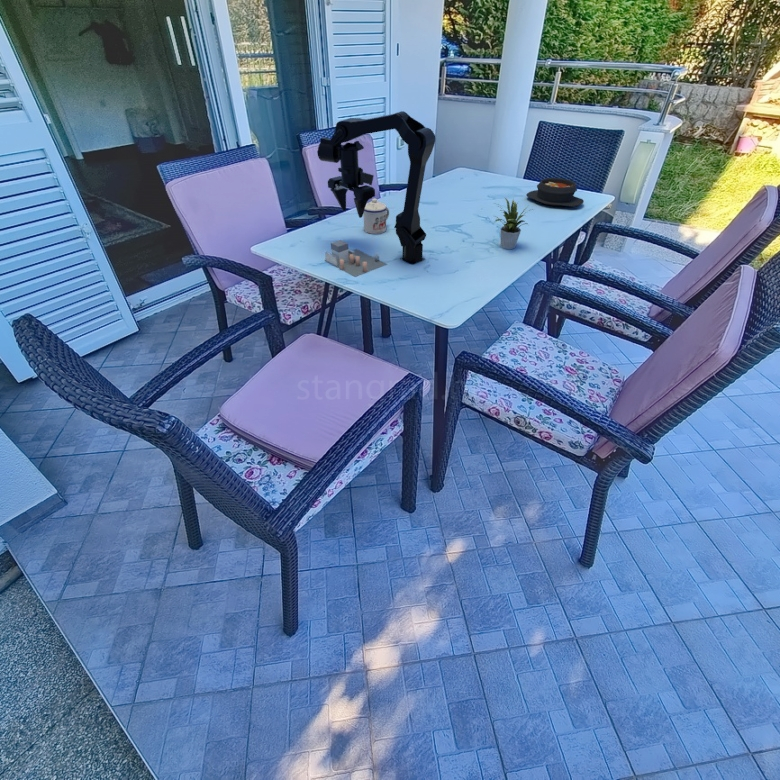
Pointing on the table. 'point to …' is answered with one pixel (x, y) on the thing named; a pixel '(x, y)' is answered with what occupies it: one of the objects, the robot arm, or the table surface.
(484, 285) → the table surface
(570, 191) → the casserole
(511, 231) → the house plant
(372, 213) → the teacup with lid
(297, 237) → the table surface
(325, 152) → the robot arm
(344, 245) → the block
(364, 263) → the pegs
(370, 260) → the mat
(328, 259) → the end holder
